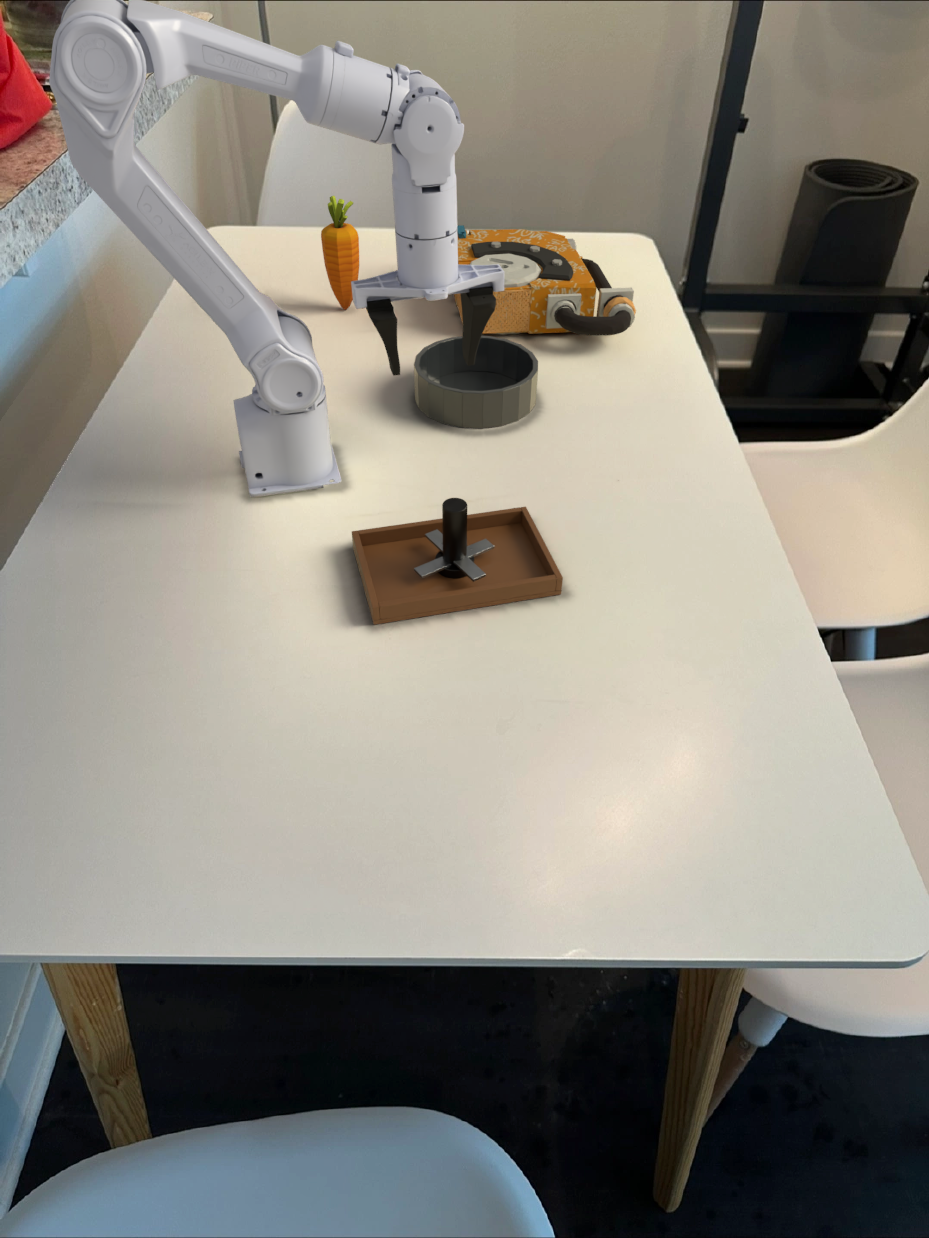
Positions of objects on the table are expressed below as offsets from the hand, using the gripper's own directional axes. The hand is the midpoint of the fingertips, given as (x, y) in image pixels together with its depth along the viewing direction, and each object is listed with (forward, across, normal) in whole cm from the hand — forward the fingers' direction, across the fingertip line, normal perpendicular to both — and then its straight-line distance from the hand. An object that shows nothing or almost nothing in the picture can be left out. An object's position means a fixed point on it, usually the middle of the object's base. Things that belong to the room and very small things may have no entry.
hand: (432, 366), depth 93 cm
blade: (+10, -3, -20) cm, 22 cm away
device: (+11, +21, +32) cm, 40 cm away
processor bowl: (+11, +7, +10) cm, 16 cm away
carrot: (+10, -4, +39) cm, 41 cm away
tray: (+10, -3, -20) cm, 23 cm away
